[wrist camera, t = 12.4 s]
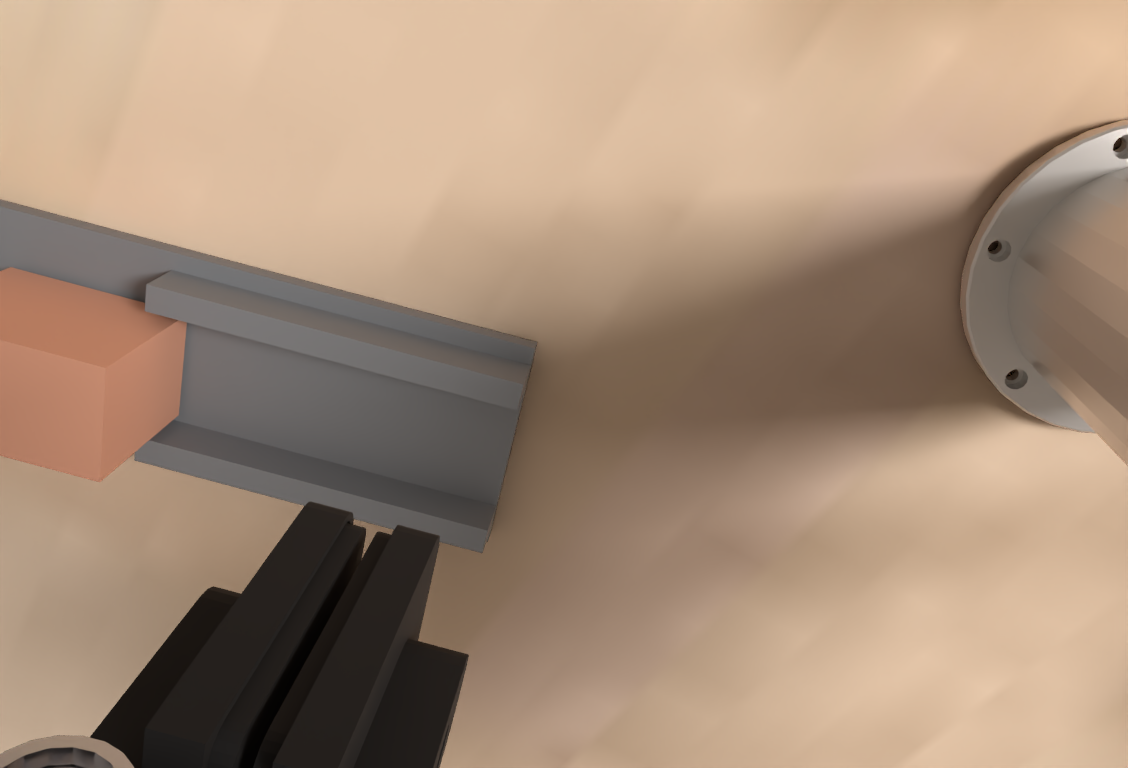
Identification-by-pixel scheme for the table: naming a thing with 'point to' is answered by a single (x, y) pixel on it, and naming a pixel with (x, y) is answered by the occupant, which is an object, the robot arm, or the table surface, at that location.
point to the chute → (308, 381)
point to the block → (82, 374)
